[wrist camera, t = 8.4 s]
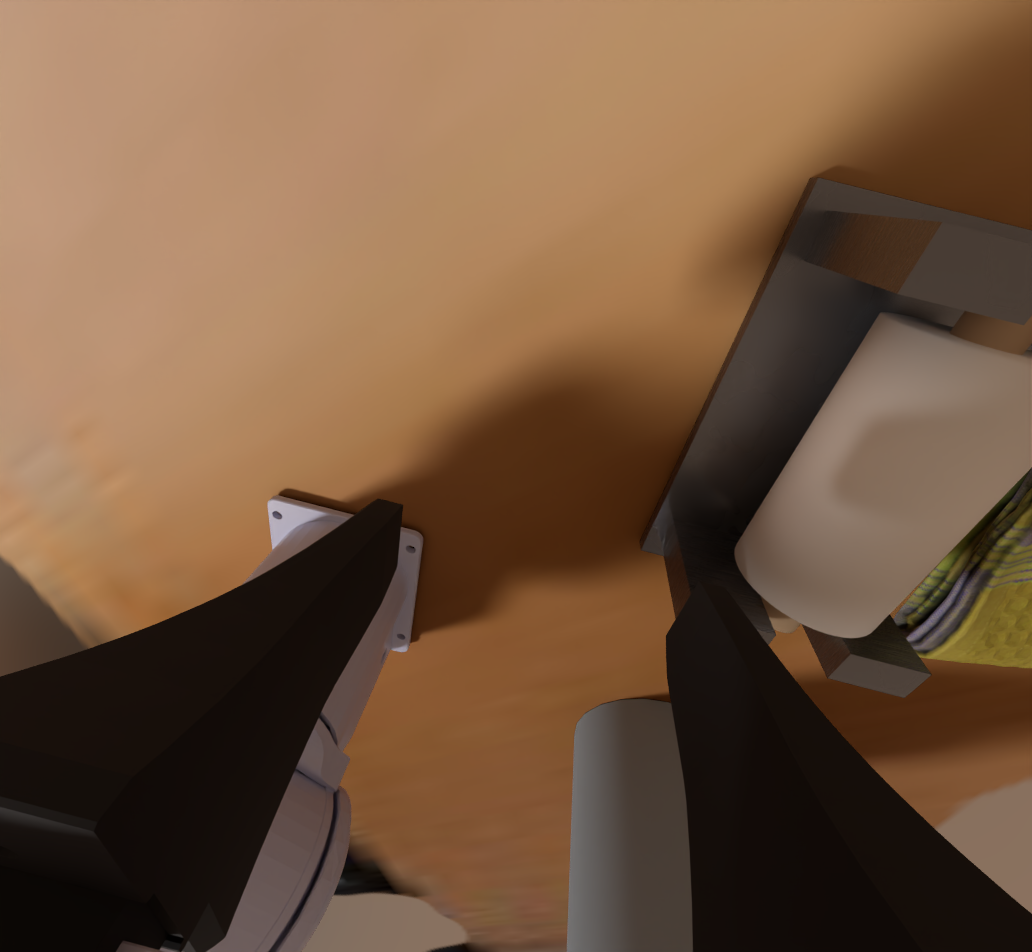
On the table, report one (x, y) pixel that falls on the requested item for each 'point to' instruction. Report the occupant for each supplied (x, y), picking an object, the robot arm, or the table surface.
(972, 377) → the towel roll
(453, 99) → the table surface
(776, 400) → the roll holder
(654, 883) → the spray bottle
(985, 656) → the dish towel
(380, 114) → the table surface
